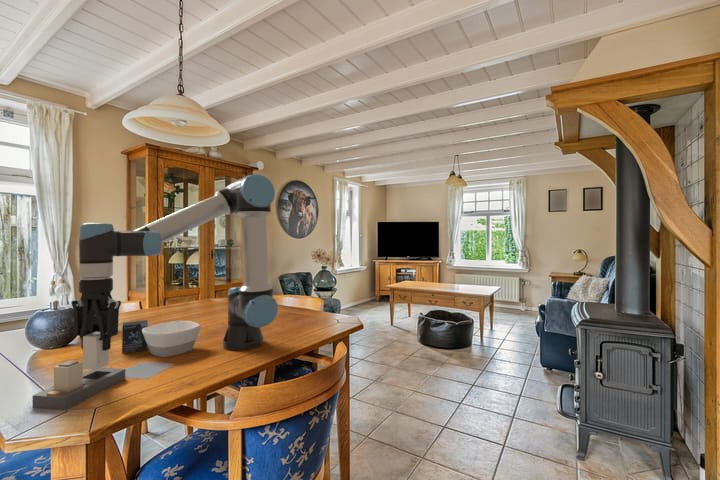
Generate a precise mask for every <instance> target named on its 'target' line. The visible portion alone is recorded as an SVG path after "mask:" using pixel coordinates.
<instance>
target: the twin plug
mask: <svg viewBox="0 0 720 480" xmlns="http://www.w3.org/2000/svg"><path fill="white" fill-rule="evenodd" d="M83 374H84V369H83V361H79V360H67V361H64V362H61V363H59V364H57V365H55V366H53V386H54V391H61V392H63V393H68V392H71V391H73V390H75V389H77V388H79V387H81V386H83Z"/></svg>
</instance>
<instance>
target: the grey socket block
mask: <svg viewBox="0 0 720 480" xmlns="http://www.w3.org/2000/svg"><path fill="white" fill-rule="evenodd" d="M125 370H126V369H125V368H114V367H113V368H112V367H111V368H110V367H101V368H99V369H96V370H92V369H90V370H89V371H86V372H83V386H81V387H79V388H77V389H75V390H73V391H71V392H68V393H63V392H61V391H54V385H53V386H52V387H49V388H47V389H44V390H42V391H40V392H37V393H35V394H32V409H42V410H45V409H46V410H56V411H67V410H68V409H70V408H73V407H74V406H76V405H78V404H80V403H82V402H84V401H86V400H88V399H89V398H91V397H93V396H95V395H97V394H99V393H101V392H103V391H105V390H107V389H109V388H111V387H113V386H115V385H117V384H119V383H121V382H123V381H126V378H125Z"/></svg>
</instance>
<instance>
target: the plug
mask: <svg viewBox="0 0 720 480" xmlns="http://www.w3.org/2000/svg"><path fill="white" fill-rule="evenodd" d="M106 334H107V333H106ZM99 338H101V336H100V331H92V333H90V334H87V335H86V336H83V349H82V362H83V370H96V369H99V368H104V367H105V366H106V367H107V366H108V365H109V360H107V361H105V362H102V363H98V340H99Z"/></svg>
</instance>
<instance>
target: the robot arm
mask: <svg viewBox="0 0 720 480" xmlns="http://www.w3.org/2000/svg"><path fill="white" fill-rule="evenodd" d="M274 186H275V185H274V184H273V182H272V181H271V180H270V179H269V178H268V177H266V176H265V175H262V174H258V173H255V174H248V175H246V176H244V177H242V178H239V179H236V180H234V182H232V183H230V184H228V185H227V186H226V187H223V188H221V189H220V190H219V189H218V190H217V191H216V192H215V193H214V195H213V196H210V197H208V198H206V199H203V200H201V201H198V202H196V203H194V204H191V205H190V206H187V207H184V208H182V209H179V210H178V211H175V212H173V213H169V215H166V216H165V217H161V218H159V219H157V220H155V221H152V222H150V223H148V224H145V225H143V226H141V227H138V228H136V229H133V230H117V229H115V228H114V225H113V223H108V222H107V223H105V222H104V223H102V222H100V223H99V222H85V223H82V224H81V225H80V226H79V236H78V237H79V239H78V246H79V247H78V252H79V253H78V254H79V256H78V257H79V259H78V260H79V263H78V265H79V266H78V269H79V270H78V278H80V279H79V280H78V291H79V293H80V294H81V295H80V298H79V299H75V300H72V301H71V303H70V304H71V307H72V309H73V335H74V336H78V337H79V338H80V341H81V343H80V344H81V345H80V347H81V350H83V336H86V335H87V334H90V333H93V328H94V322H95V317H97V323H98V324H97V325H98V330H99V332H100V336H101V338H99V340H98V363H102V362H105V361H107V360H108V361H109V360H110V359H109V358H110V350H111V343H112V341H111V339H112V338H113V337H115V336H117V335H118V334H119V314H120V313H119V312H120V307H121V304H122V301H121V300H114V298H113V297H112V293H111V292H112V291H113V289H114V284H113V283H114V279H113V277H112V276H113V275H114V272H113V271H114V259H113V258H114V257H153V256H159V255H161V253H162V246H163V244H162V243H165V242H166V241H169V240H171V239H174V238H175V237H178V236H179V235H182V234H184V233H187V232H188V231H190V230H193V229H195V228H198V227H199V226H201V225H203V224H206V223H209V222H210V221H212V220H215V219H216V218H219V217H221V216H223V215H227V216H229V215H232V214H234V213H237V215H238V216H239V217H240V218H241V240H242V241H241V242H242V247H241V248H242V273H243V274H242V276H243V277H242V278H243V284H242V285H241V286H236V287H235V286H234V287H230V288H229V289H228V290H227V327H226V330H225V333H224V337H223V340H222V348H224V349H225V350H228V351H248V350H252V349H255V348H260V347H261V346H262V345H264V336H263V332H262V330H261V328H264V327H266V326H269V325H270V324H271V323H272V322H273V321H274V320H275V319H276V317H277V315H278V312H279V305H278V303H277V301H276V299H275V298H274V292H273V290H274V289H273V286H272V285H271V284H270V283H269V268H268V266H269V265H268V263H269V262H268V231H267V230H268V228H267V227H268V226H267V225H268V223H267V219H268V217H269V215H270V214H271V211H272V210H271V204H272V203H273V201H274V199H275V197H276V191H275V190H276V189H275V187H274ZM106 333H107V334H106Z"/></svg>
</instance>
